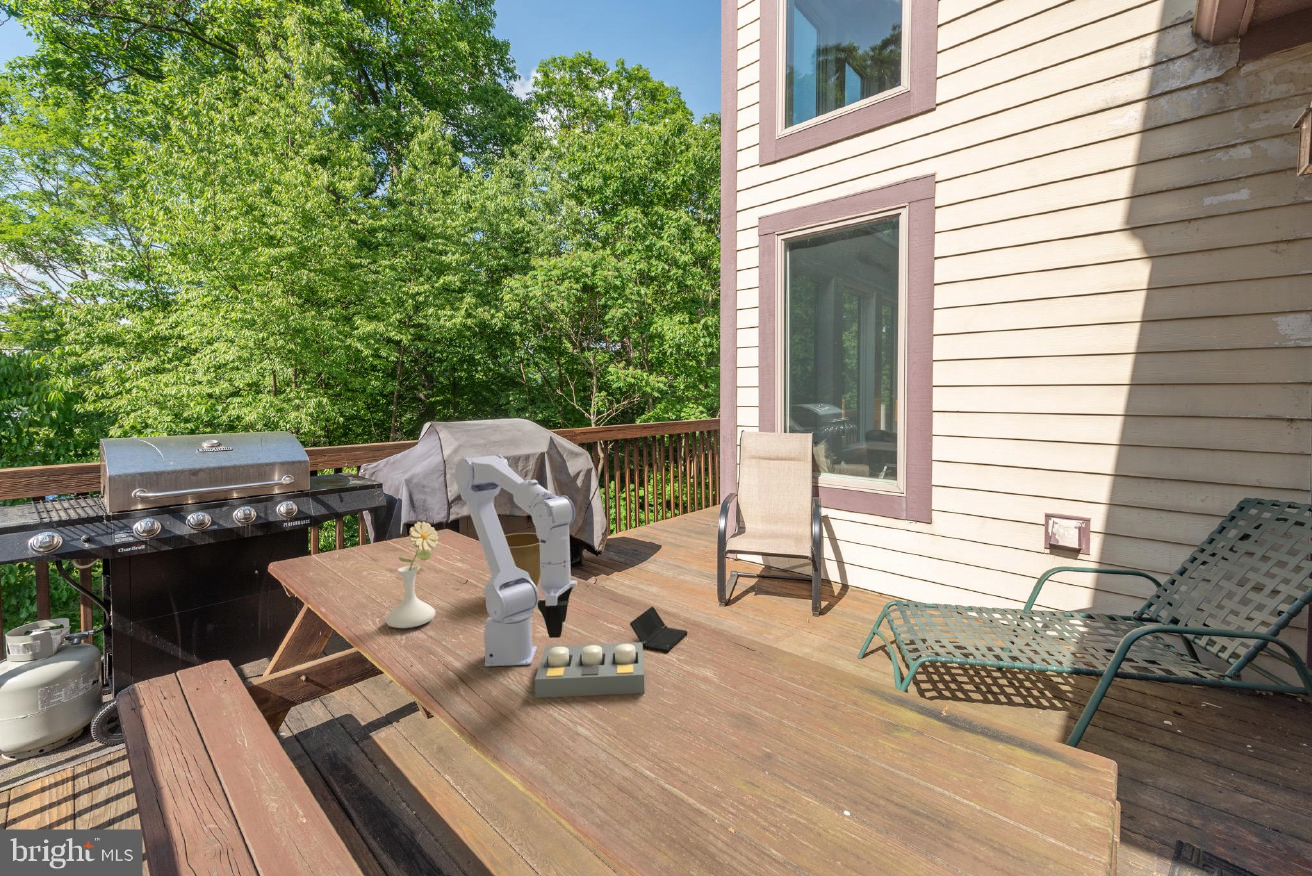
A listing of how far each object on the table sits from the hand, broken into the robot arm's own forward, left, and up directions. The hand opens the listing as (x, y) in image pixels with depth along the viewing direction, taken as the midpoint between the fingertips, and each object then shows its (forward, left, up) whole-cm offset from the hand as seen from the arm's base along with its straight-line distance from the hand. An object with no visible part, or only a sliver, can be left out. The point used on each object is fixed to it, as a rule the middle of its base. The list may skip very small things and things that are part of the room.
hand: (557, 629), depth 110 cm
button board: (+6, 0, -10) cm, 12 cm away
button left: (0, 0, -7) cm, 7 cm away
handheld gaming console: (+20, +16, -10) cm, 28 cm away
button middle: (+6, 0, -7) cm, 10 cm away
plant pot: (-17, +49, -10) cm, 53 cm away
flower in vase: (-40, +32, -10) cm, 52 cm away
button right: (+13, 0, -7) cm, 15 cm away
